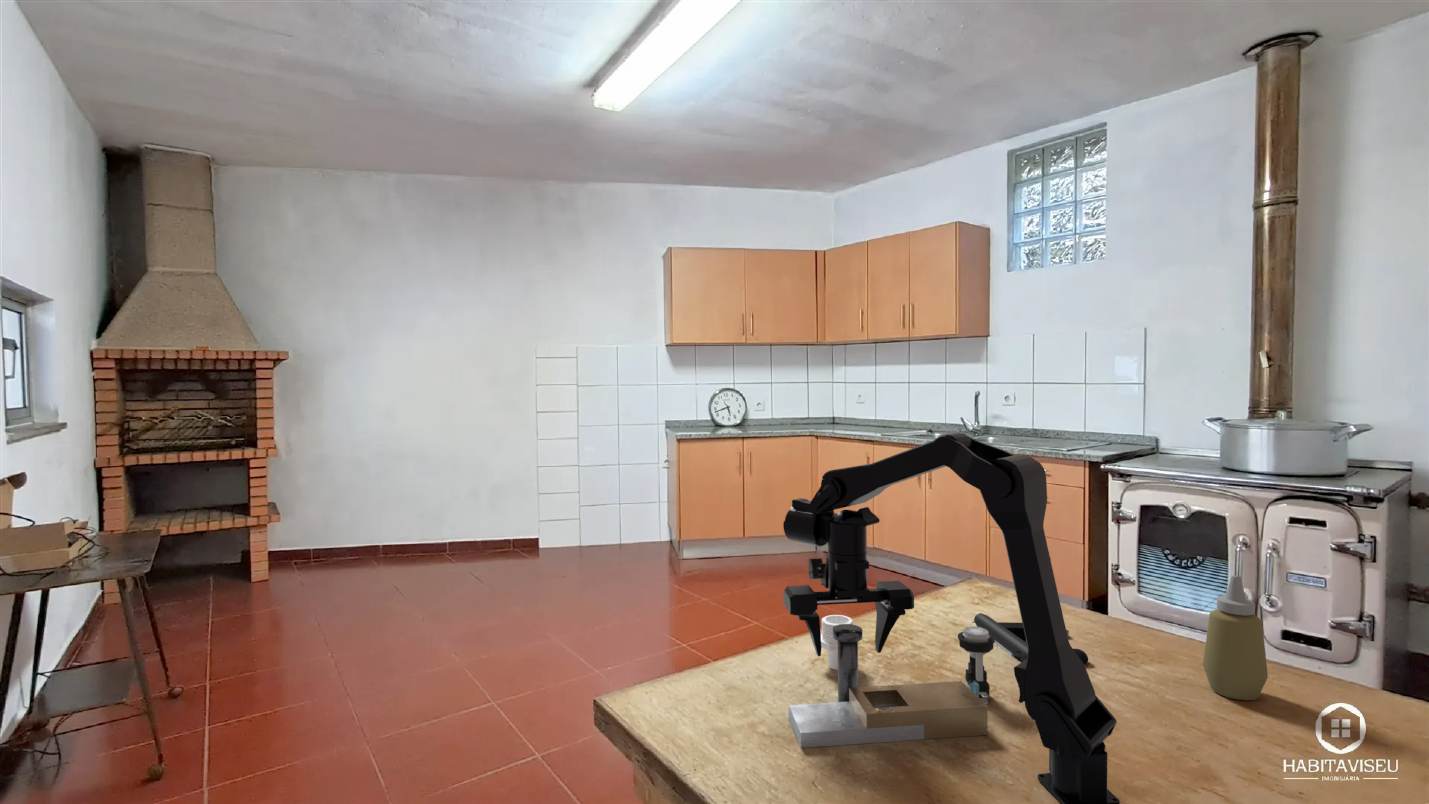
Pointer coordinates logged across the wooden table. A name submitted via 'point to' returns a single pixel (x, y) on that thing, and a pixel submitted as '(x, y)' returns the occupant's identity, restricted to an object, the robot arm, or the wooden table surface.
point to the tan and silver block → (892, 715)
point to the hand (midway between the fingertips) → (848, 653)
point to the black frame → (1012, 637)
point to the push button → (976, 659)
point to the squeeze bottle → (1235, 646)
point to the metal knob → (847, 658)
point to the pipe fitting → (828, 639)
